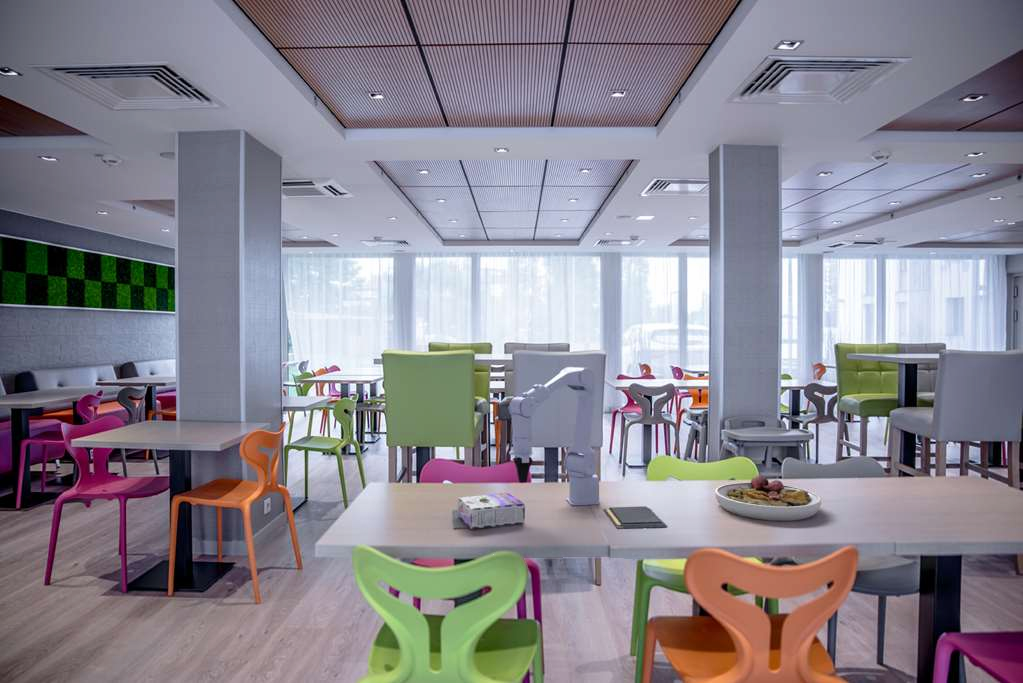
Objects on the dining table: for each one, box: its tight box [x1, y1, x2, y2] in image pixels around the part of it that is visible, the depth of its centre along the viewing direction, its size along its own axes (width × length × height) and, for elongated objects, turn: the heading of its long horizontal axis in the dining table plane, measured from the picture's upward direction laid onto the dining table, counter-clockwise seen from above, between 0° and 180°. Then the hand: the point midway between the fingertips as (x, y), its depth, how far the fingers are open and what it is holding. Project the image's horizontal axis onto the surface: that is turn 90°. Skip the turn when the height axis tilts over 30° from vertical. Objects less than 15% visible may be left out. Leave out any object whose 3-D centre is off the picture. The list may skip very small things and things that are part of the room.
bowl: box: [714, 475, 822, 522], centre depth 186 cm, size 30×30×8 cm
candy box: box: [457, 492, 526, 530], centre depth 177 cm, size 14×6×16 cm
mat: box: [452, 509, 511, 530], centre depth 179 cm, size 16×18×1 cm
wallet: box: [602, 505, 668, 530], centre depth 178 cm, size 20×2×15 cm
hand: (522, 482), depth 181 cm, fingers closed
